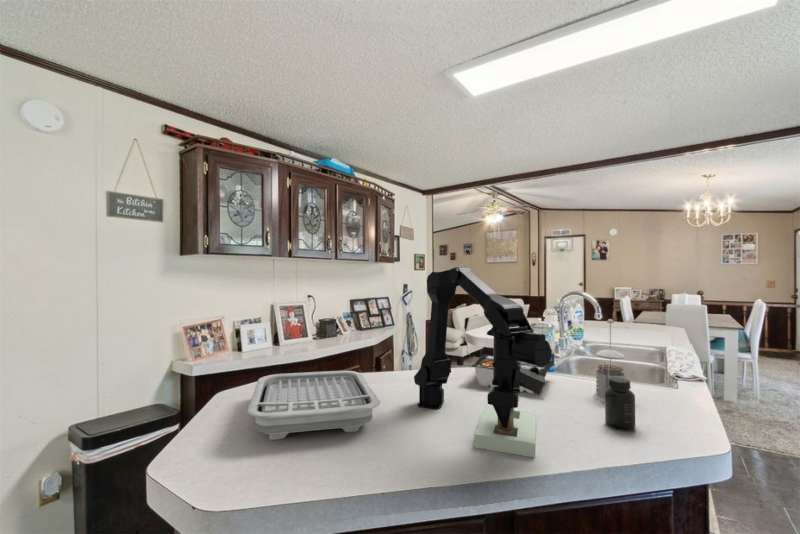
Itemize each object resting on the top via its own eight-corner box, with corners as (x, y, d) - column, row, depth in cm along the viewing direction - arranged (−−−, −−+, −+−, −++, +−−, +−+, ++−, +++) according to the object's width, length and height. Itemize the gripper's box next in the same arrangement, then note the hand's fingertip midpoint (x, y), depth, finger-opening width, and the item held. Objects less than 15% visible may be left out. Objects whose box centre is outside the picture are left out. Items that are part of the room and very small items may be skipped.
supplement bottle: (631, 422, 101) (631, 377, 101) (638, 433, 94) (638, 385, 94) (602, 419, 103) (602, 375, 103) (607, 429, 96) (607, 382, 96)
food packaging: (468, 365, 131) (486, 352, 151) (467, 386, 131) (486, 371, 151) (544, 375, 119) (553, 360, 139) (544, 399, 119) (553, 380, 139)
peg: (496, 441, 87) (496, 397, 87) (497, 434, 91) (498, 392, 91) (513, 444, 86) (513, 399, 86) (514, 437, 89) (514, 394, 89)
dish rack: (359, 390, 126) (359, 366, 127) (384, 438, 91) (384, 404, 91) (258, 398, 118) (258, 372, 118) (243, 454, 83) (243, 418, 83)
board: (535, 457, 82) (535, 443, 82) (474, 447, 86) (474, 434, 86) (535, 422, 100) (535, 411, 100) (485, 415, 105) (486, 404, 105)
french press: (630, 398, 120) (631, 319, 120) (623, 408, 111) (624, 322, 111) (596, 391, 126) (597, 316, 127) (587, 400, 118) (587, 319, 118)
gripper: (543, 370, 77) (542, 448, 77) (542, 351, 94) (542, 414, 94) (487, 365, 81) (486, 439, 80) (496, 348, 98) (496, 408, 98)
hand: (505, 424), depth 88 cm, fingers closed on peg, 4 cm apart
